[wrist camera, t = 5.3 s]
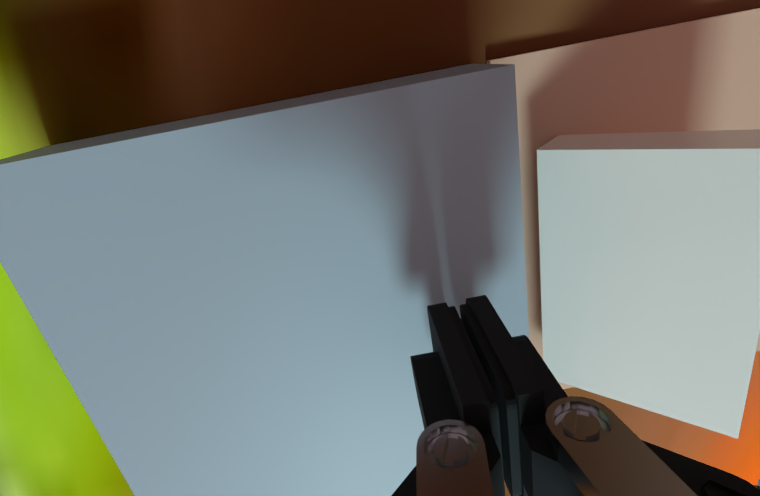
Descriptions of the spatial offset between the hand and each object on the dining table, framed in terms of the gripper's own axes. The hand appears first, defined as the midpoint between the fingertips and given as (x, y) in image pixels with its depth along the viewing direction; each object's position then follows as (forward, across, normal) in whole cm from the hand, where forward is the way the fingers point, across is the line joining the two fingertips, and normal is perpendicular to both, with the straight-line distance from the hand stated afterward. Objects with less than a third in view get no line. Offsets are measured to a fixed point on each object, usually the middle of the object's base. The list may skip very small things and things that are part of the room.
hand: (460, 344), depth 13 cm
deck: (+5, +5, 0) cm, 7 cm away
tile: (+1, -6, 0) cm, 6 cm away
